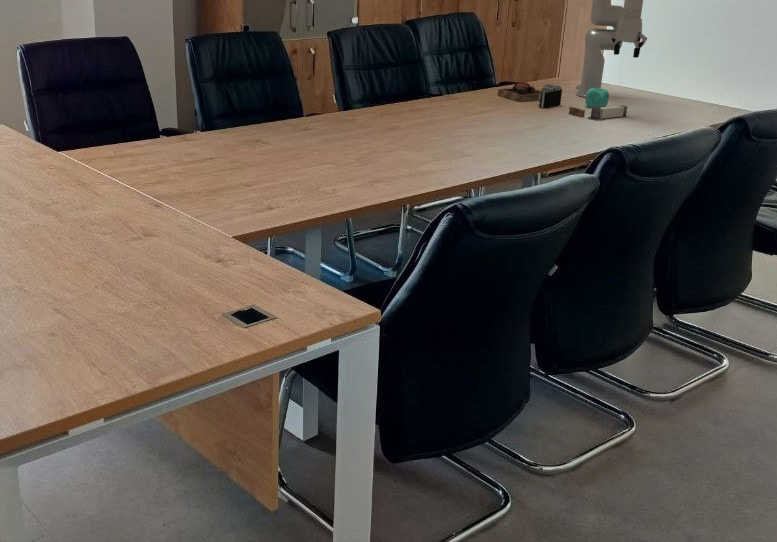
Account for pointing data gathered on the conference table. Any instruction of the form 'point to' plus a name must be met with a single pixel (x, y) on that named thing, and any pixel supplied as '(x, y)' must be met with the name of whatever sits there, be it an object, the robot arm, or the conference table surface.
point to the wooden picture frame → (516, 97)
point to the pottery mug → (523, 88)
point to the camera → (550, 96)
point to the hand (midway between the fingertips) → (626, 55)
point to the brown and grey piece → (579, 112)
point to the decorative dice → (597, 97)
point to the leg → (613, 111)
